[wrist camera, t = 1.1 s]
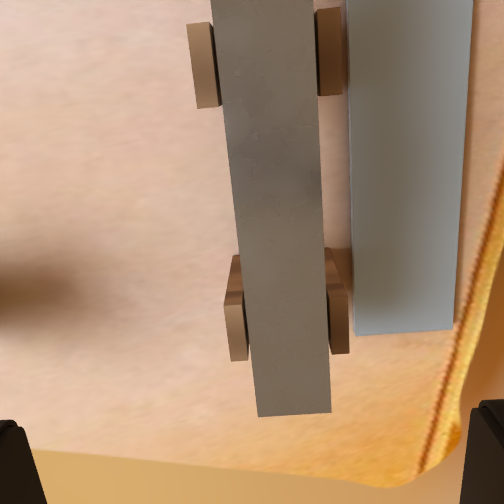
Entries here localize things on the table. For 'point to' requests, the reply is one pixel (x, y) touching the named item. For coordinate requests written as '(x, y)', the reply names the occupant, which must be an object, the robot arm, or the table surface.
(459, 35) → the grey board
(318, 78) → the post near
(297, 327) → the rail
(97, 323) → the table surface
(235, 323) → the post far
